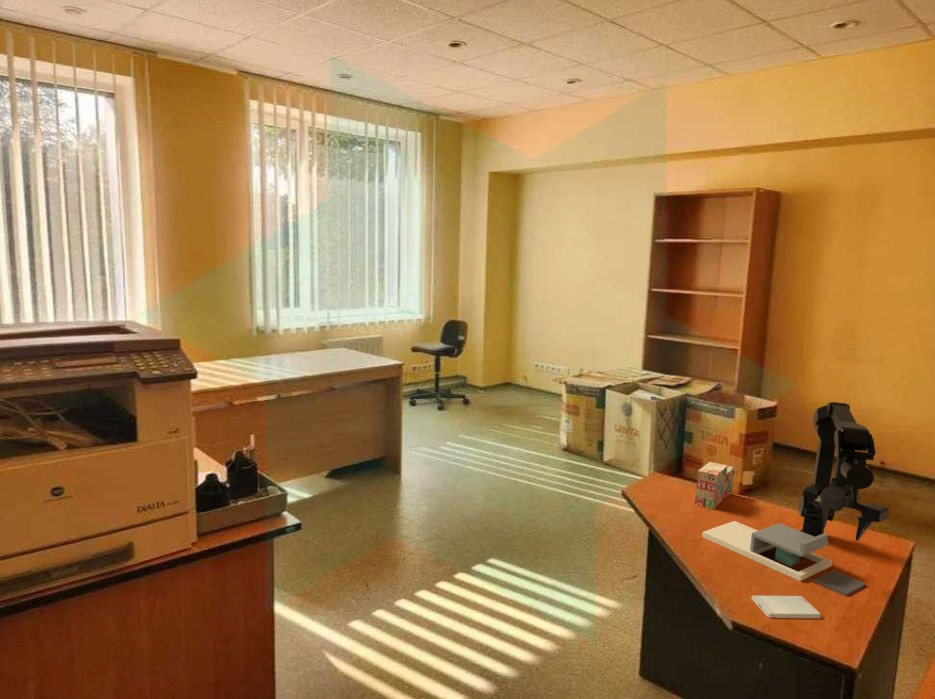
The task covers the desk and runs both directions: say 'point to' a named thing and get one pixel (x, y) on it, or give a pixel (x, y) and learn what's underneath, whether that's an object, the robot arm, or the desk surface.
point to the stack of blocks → (713, 484)
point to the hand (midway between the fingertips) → (840, 533)
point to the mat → (840, 582)
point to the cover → (788, 540)
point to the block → (786, 557)
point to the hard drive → (786, 607)
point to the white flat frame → (740, 542)
